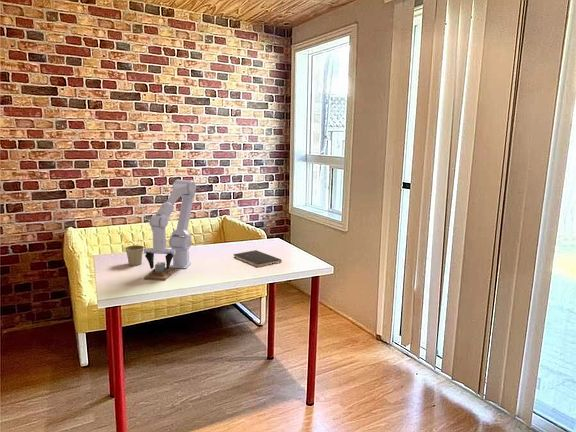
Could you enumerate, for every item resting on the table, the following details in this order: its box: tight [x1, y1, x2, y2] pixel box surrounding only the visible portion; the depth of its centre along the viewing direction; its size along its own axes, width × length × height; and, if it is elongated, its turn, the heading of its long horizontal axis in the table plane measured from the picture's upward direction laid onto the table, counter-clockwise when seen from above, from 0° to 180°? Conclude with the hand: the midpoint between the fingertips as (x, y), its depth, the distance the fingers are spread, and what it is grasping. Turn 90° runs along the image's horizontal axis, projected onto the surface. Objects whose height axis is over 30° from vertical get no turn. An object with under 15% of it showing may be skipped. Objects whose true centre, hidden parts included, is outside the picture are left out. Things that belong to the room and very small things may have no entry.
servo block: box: [154, 261, 166, 273], centre depth 195 cm, size 5×3×6 cm, turn 177°
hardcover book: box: [233, 249, 283, 268], centre depth 226 cm, size 16×23×2 cm
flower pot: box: [124, 244, 145, 266], centre depth 211 cm, size 9×9×9 cm
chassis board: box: [143, 267, 176, 281], centre depth 195 cm, size 14×10×2 cm
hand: (160, 268), depth 195 cm, fingers open, 7 cm apart
